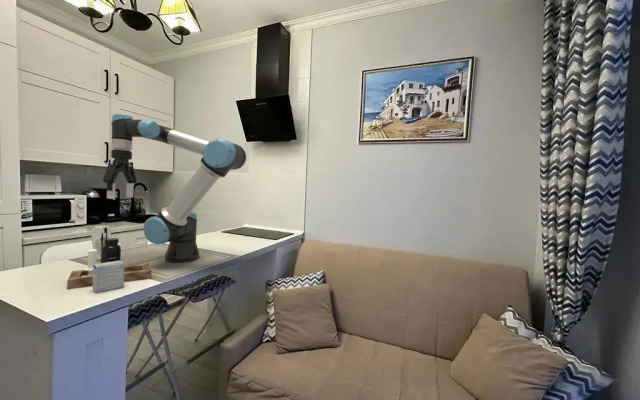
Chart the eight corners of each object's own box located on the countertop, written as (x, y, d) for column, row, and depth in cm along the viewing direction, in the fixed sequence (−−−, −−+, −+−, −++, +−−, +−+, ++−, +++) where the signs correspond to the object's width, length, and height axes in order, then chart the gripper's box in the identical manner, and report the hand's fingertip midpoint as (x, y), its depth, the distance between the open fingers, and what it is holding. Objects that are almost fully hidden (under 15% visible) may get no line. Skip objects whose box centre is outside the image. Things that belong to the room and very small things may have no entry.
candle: (92, 278, 104) (93, 246, 103) (105, 279, 103) (105, 247, 102) (78, 282, 98) (78, 249, 98) (91, 284, 98) (91, 250, 97)
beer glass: (113, 258, 129) (113, 226, 128) (94, 261, 123) (95, 228, 123) (106, 256, 133) (107, 224, 132) (88, 258, 127) (88, 226, 126)
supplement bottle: (109, 270, 113) (110, 241, 113) (95, 268, 115) (96, 239, 114) (124, 265, 120) (125, 238, 120) (111, 264, 121) (112, 236, 121)
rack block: (148, 270, 116) (149, 262, 116) (151, 278, 107) (151, 269, 107) (72, 279, 102) (72, 270, 102) (67, 289, 93) (67, 279, 93)
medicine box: (120, 284, 100) (120, 260, 99) (124, 287, 97) (124, 262, 96) (92, 289, 93) (92, 264, 93) (95, 293, 91) (96, 267, 90)
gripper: (129, 152, 135) (128, 196, 136) (92, 145, 111) (91, 198, 112) (145, 153, 136) (144, 197, 137) (112, 146, 111) (111, 199, 112)
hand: (120, 198), depth 124 cm, fingers open, 13 cm apart
